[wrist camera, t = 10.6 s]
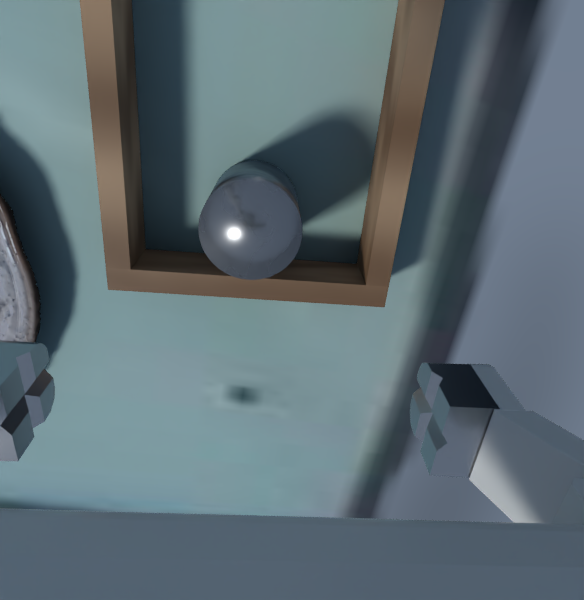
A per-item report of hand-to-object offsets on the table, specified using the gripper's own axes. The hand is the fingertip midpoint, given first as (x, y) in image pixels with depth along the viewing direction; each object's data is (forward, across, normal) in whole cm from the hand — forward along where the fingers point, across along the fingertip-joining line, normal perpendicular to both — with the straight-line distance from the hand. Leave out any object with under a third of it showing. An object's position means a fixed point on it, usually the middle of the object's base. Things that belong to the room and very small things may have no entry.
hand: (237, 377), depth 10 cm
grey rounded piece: (+16, 0, 0) cm, 16 cm away
